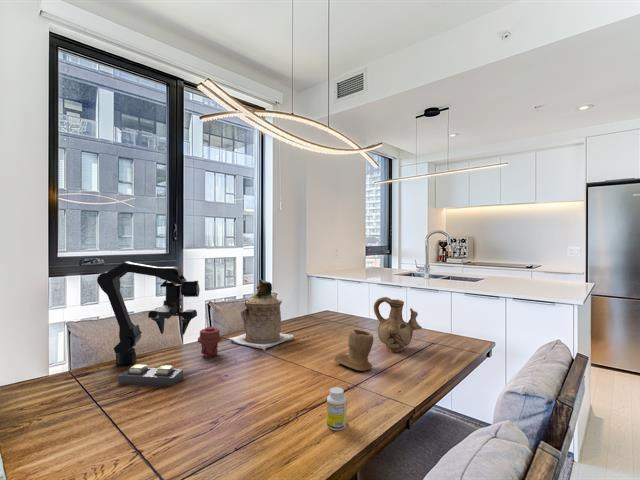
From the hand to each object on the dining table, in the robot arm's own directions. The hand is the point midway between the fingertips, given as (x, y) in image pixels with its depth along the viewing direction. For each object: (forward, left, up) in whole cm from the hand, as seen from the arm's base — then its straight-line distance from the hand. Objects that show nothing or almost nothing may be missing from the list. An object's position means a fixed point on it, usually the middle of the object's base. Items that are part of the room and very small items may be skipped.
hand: (172, 334), depth 144 cm
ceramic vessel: (+97, +26, -12) cm, 101 cm away
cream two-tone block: (+7, -19, -12) cm, 23 cm away
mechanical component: (+12, +10, -12) cm, 20 cm away
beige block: (-3, -19, -12) cm, 22 cm away
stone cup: (+77, +4, -12) cm, 78 cm away
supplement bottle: (+70, -42, -12) cm, 83 cm away
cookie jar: (+30, +35, -12) cm, 47 cm away
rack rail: (+2, -19, -12) cm, 23 cm away
